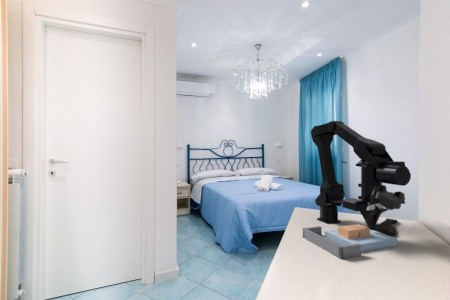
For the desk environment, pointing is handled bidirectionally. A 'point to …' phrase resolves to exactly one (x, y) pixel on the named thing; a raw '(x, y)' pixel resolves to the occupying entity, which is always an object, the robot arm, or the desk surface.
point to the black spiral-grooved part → (386, 227)
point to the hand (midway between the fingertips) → (371, 229)
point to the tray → (331, 243)
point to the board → (364, 240)
